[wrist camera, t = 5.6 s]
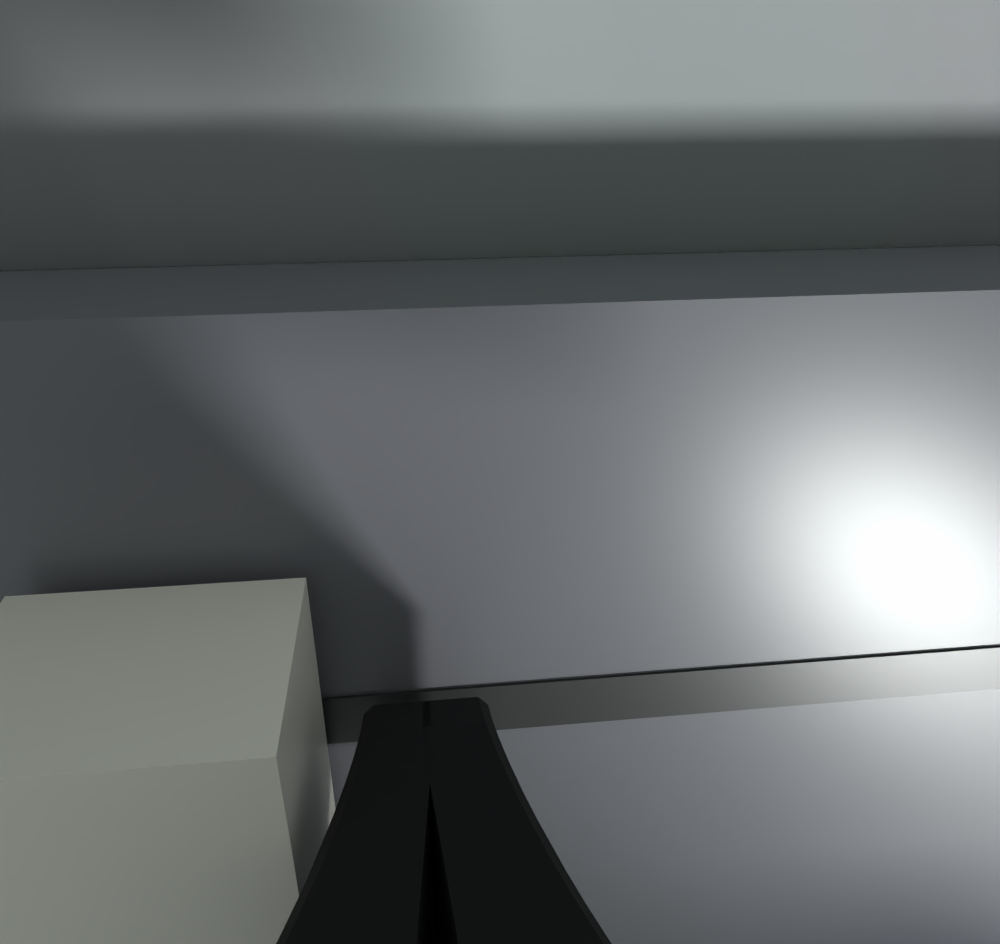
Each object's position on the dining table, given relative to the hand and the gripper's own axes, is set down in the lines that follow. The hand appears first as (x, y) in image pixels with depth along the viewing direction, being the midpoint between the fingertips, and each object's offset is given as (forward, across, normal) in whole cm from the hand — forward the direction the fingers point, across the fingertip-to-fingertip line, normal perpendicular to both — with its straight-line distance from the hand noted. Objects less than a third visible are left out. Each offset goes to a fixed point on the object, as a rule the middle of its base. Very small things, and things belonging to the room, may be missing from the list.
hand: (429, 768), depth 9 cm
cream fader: (+1, +3, 0) cm, 3 cm away
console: (+3, -1, +4) cm, 5 cm away
